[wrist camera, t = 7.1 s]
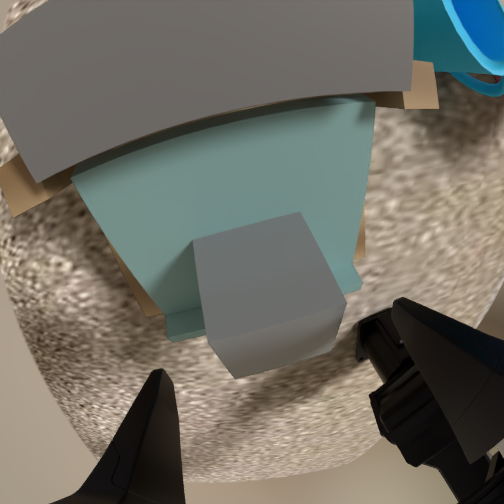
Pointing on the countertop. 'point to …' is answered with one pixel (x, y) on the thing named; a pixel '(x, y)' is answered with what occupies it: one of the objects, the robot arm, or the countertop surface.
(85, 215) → the countertop surface
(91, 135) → the trapdoor
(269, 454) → the countertop surface
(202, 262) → the gray cube
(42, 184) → the frame
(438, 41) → the mug
